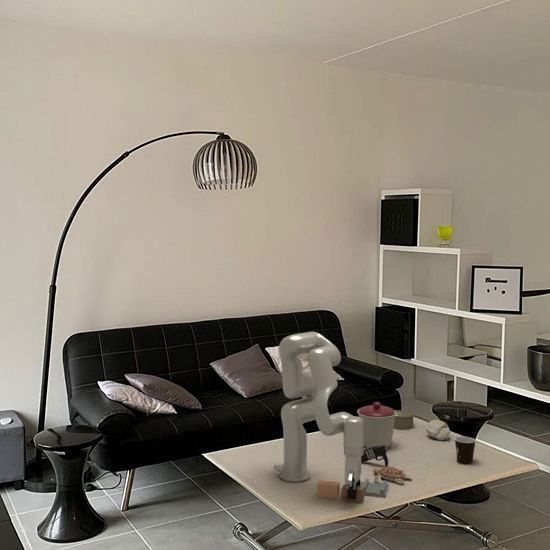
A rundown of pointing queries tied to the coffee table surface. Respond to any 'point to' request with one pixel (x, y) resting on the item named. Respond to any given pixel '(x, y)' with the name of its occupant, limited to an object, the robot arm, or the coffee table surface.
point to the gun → (375, 454)
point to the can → (403, 420)
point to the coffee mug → (464, 450)
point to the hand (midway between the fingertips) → (354, 494)
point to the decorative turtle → (390, 474)
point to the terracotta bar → (328, 489)
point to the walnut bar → (358, 494)
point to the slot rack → (373, 488)
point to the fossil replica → (438, 430)
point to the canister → (377, 424)
